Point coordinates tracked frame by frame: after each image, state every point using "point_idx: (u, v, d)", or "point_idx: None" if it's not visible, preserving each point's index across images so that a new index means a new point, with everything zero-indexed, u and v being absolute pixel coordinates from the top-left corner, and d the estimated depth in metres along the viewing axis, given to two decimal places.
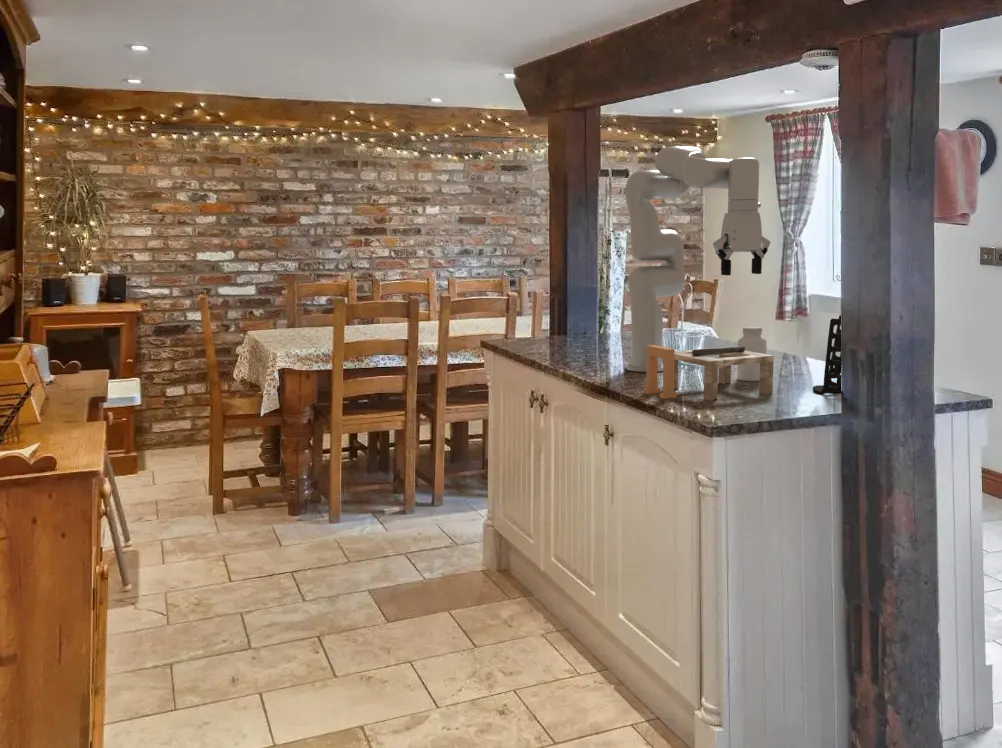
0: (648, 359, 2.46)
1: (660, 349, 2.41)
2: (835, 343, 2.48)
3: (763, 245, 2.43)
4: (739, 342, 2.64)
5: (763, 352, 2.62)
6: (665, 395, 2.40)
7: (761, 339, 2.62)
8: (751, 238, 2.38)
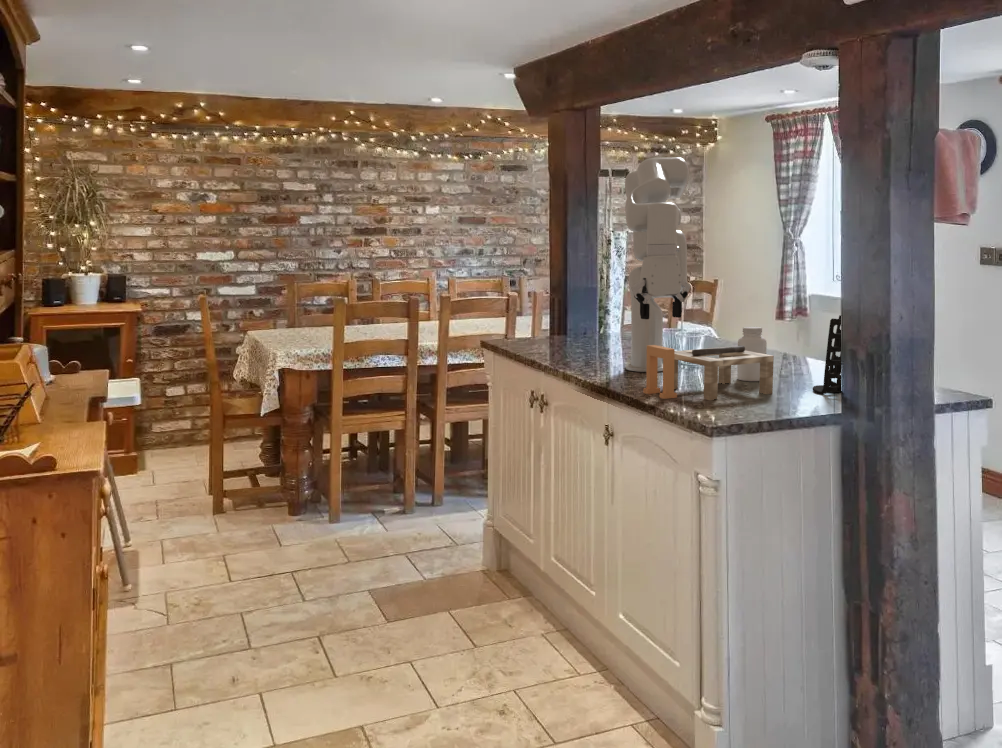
0: (648, 359, 2.46)
1: (660, 349, 2.41)
2: (835, 343, 2.48)
3: (683, 289, 2.43)
4: (739, 342, 2.64)
5: (763, 352, 2.62)
6: (665, 395, 2.40)
7: (761, 339, 2.62)
8: (670, 282, 2.38)
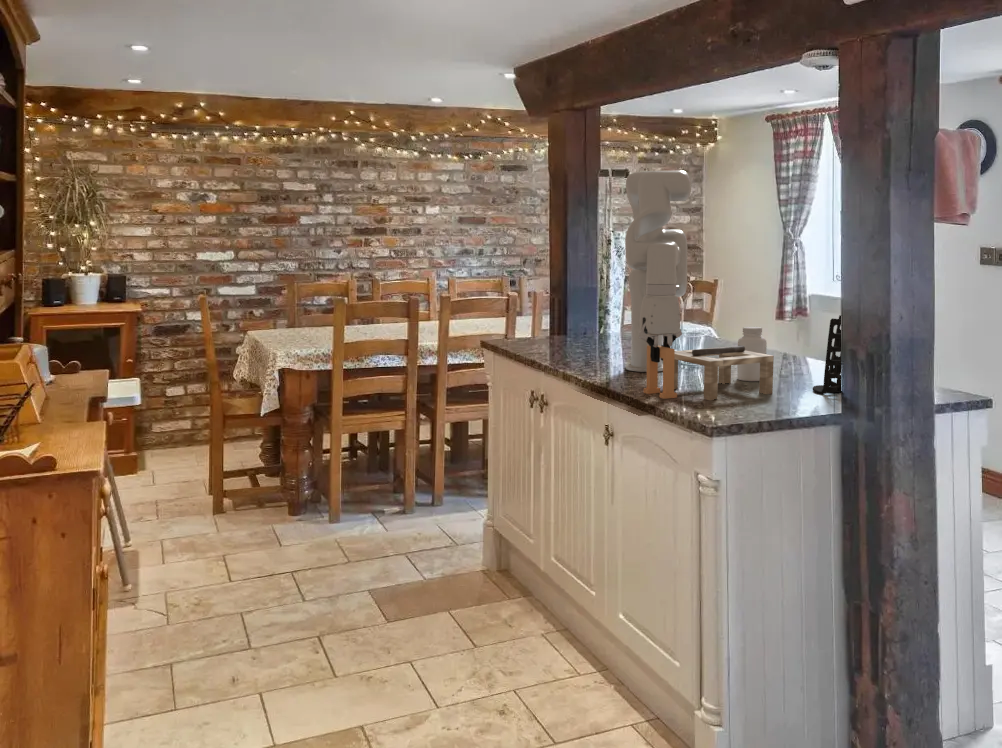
0: (648, 359, 2.46)
1: (660, 349, 2.41)
2: (835, 343, 2.48)
3: None
4: (739, 342, 2.64)
5: (763, 352, 2.62)
6: (665, 395, 2.40)
7: (761, 339, 2.62)
8: (669, 321, 2.40)
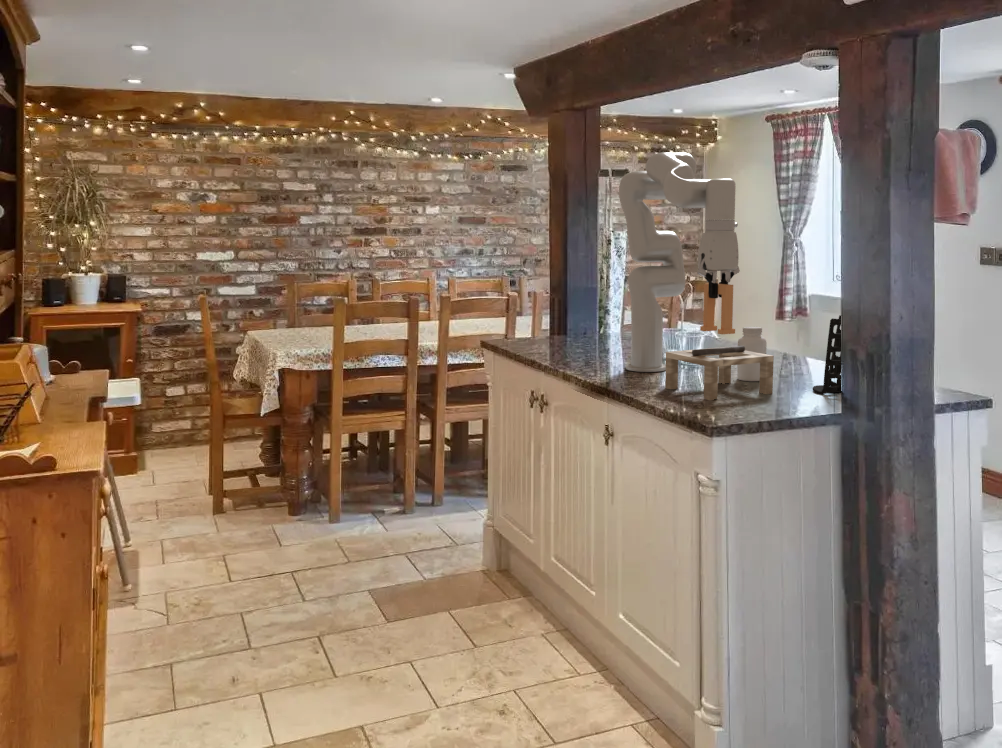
0: (705, 297, 2.49)
1: (718, 285, 2.43)
2: (835, 343, 2.48)
3: (732, 270, 2.46)
4: (739, 342, 2.64)
5: (763, 352, 2.62)
6: (724, 331, 2.42)
7: (761, 339, 2.62)
8: (727, 257, 2.42)
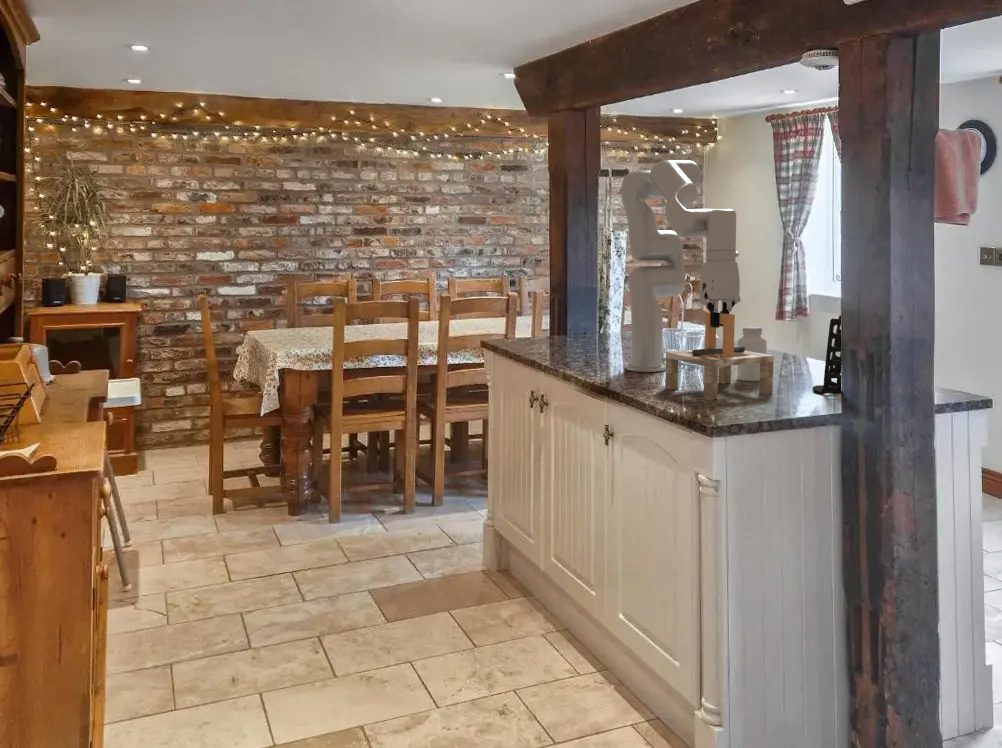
0: (707, 326, 2.50)
1: (720, 315, 2.44)
2: (835, 343, 2.48)
3: (733, 299, 2.48)
4: (739, 342, 2.64)
5: (763, 352, 2.62)
6: None
7: (761, 339, 2.62)
8: (729, 287, 2.44)
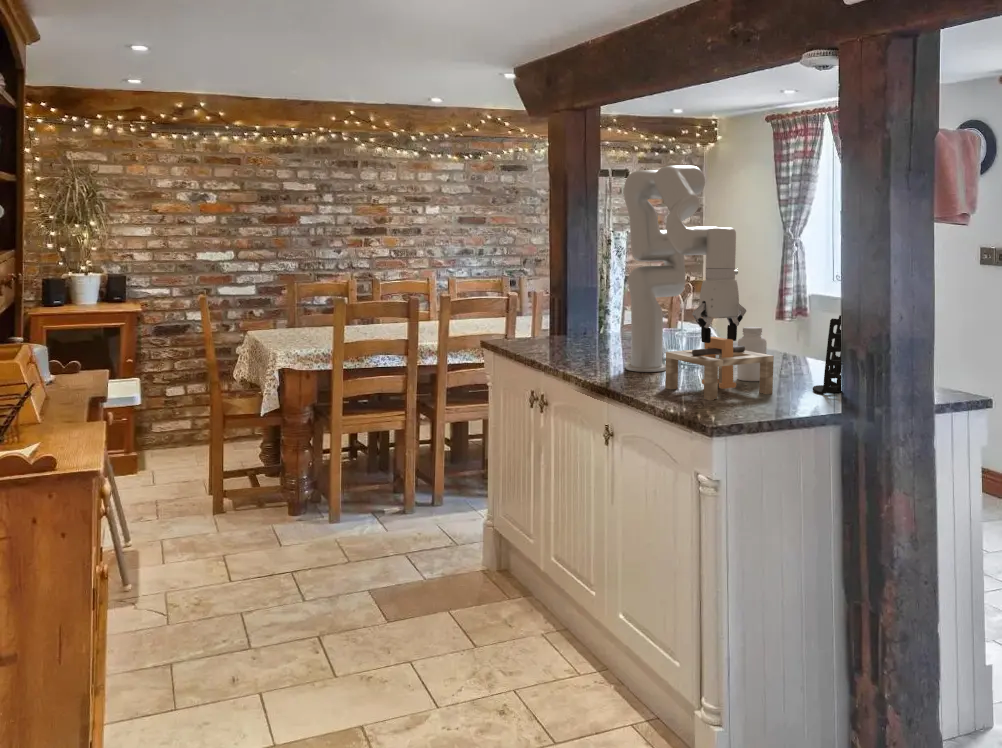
0: None
1: (719, 340, 2.45)
2: (835, 343, 2.48)
3: (739, 312, 2.49)
4: (739, 342, 2.64)
5: (763, 352, 2.62)
6: (725, 385, 2.44)
7: (761, 339, 2.62)
8: (728, 305, 2.44)
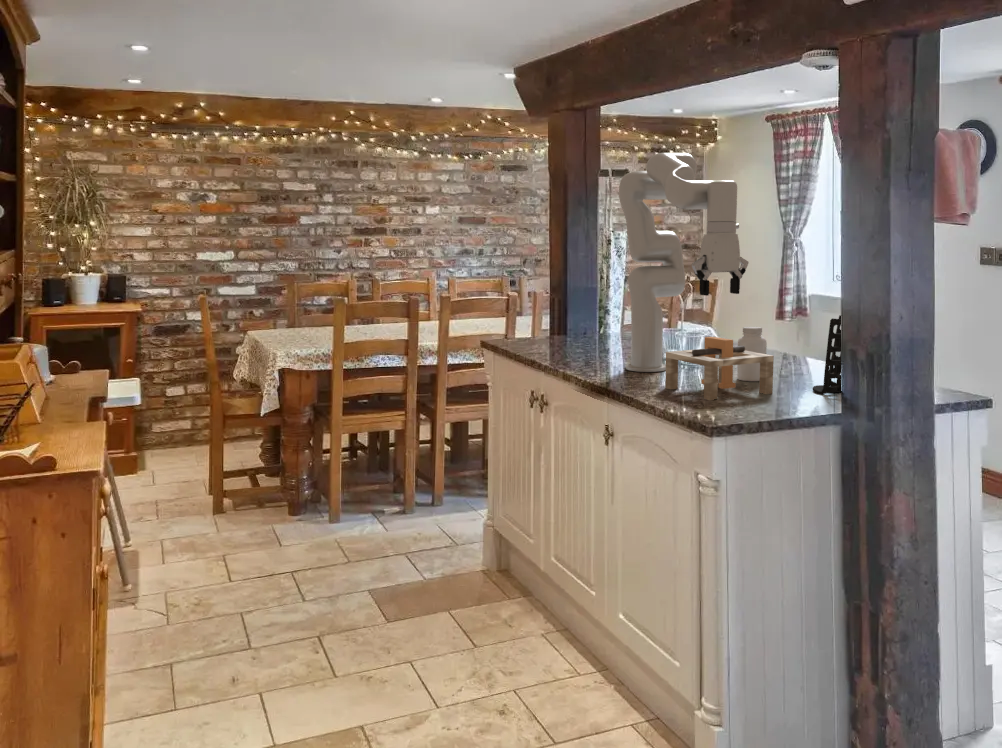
0: None
1: (719, 340, 2.46)
2: (835, 343, 2.48)
3: (741, 265, 2.47)
4: (739, 342, 2.64)
5: (763, 352, 2.62)
6: (724, 385, 2.44)
7: (761, 339, 2.62)
8: (729, 259, 2.43)
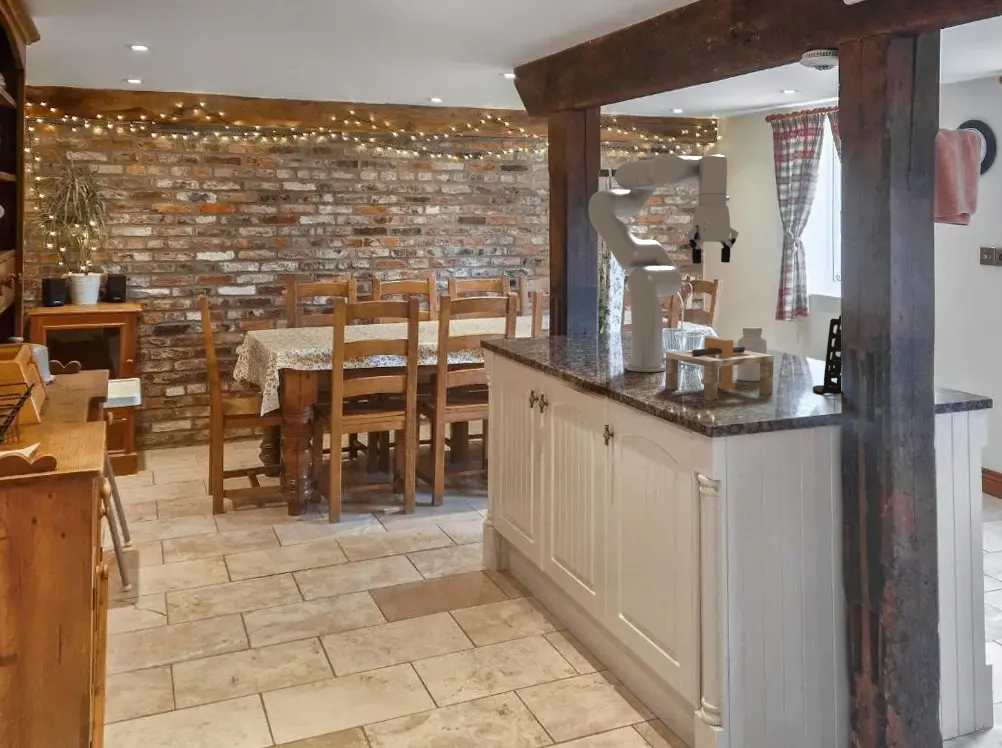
0: None
1: (719, 340, 2.45)
2: (835, 343, 2.48)
3: (732, 236, 2.63)
4: (739, 342, 2.64)
5: (763, 352, 2.62)
6: (724, 385, 2.44)
7: (761, 339, 2.62)
8: (720, 229, 2.58)
